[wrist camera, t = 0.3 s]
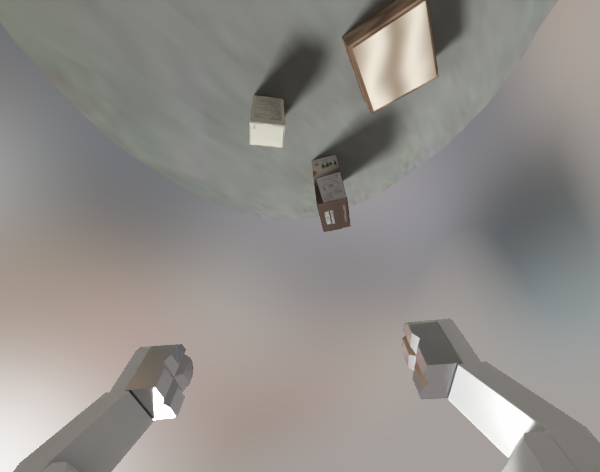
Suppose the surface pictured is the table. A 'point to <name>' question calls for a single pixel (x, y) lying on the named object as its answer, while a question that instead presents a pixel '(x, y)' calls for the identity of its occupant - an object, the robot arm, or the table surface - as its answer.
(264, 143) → the skincare box
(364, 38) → the walnut stand
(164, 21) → the table surface
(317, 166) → the coffee box
